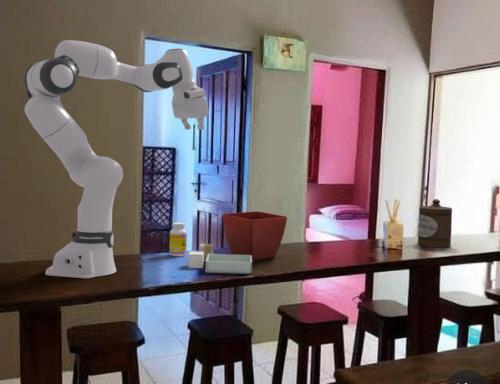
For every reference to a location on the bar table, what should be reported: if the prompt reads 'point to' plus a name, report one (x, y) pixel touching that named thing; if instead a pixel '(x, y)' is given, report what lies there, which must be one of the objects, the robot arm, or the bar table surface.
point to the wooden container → (435, 225)
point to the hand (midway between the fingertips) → (194, 129)
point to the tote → (228, 264)
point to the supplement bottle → (178, 240)
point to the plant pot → (254, 233)
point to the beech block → (207, 250)
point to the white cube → (196, 259)
